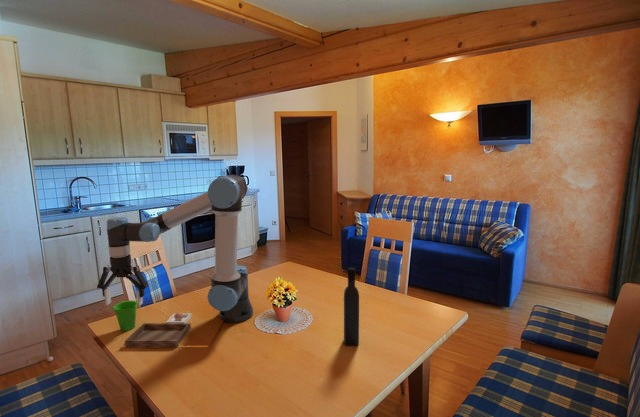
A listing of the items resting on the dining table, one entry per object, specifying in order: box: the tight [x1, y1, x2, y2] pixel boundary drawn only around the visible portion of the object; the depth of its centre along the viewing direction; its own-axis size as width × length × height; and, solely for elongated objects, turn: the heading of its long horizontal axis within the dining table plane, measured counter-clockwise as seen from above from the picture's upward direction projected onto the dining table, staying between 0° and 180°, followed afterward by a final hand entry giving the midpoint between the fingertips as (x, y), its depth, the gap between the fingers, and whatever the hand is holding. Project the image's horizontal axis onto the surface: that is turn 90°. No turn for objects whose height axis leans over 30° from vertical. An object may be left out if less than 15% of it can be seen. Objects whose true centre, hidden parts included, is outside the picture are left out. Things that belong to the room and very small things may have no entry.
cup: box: [112, 300, 138, 332], centre depth 147 cm, size 9×9×11 cm
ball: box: [174, 311, 184, 321], centre depth 154 cm, size 4×4×4 cm
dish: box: [165, 313, 193, 323], centre depth 154 cm, size 8×8×2 cm
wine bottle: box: [343, 267, 360, 346], centre depth 134 cm, size 6×6×30 cm
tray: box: [124, 322, 192, 349], centre depth 140 cm, size 20×14×3 cm
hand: (124, 304), depth 146 cm, fingers open, 13 cm apart
